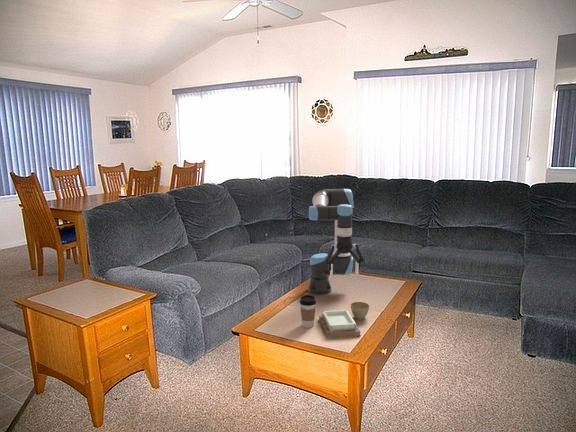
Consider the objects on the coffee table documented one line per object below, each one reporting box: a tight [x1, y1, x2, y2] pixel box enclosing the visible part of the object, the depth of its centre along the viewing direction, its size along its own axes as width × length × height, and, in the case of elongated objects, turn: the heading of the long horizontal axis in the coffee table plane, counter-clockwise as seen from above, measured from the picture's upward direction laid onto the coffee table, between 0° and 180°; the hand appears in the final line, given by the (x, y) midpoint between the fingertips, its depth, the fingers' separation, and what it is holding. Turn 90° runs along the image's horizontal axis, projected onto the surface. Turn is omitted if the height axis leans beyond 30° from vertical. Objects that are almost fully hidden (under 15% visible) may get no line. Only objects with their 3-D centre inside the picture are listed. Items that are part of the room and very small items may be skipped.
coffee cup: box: [299, 294, 317, 329], centre depth 218 cm, size 8×8×15 cm
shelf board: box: [318, 314, 361, 339], centre depth 216 cm, size 22×16×2 cm
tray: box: [322, 309, 357, 331], centre depth 216 cm, size 18×13×3 cm
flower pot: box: [350, 301, 370, 320], centre depth 227 cm, size 10×10×7 cm
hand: (344, 275), depth 218 cm, fingers open, 13 cm apart
